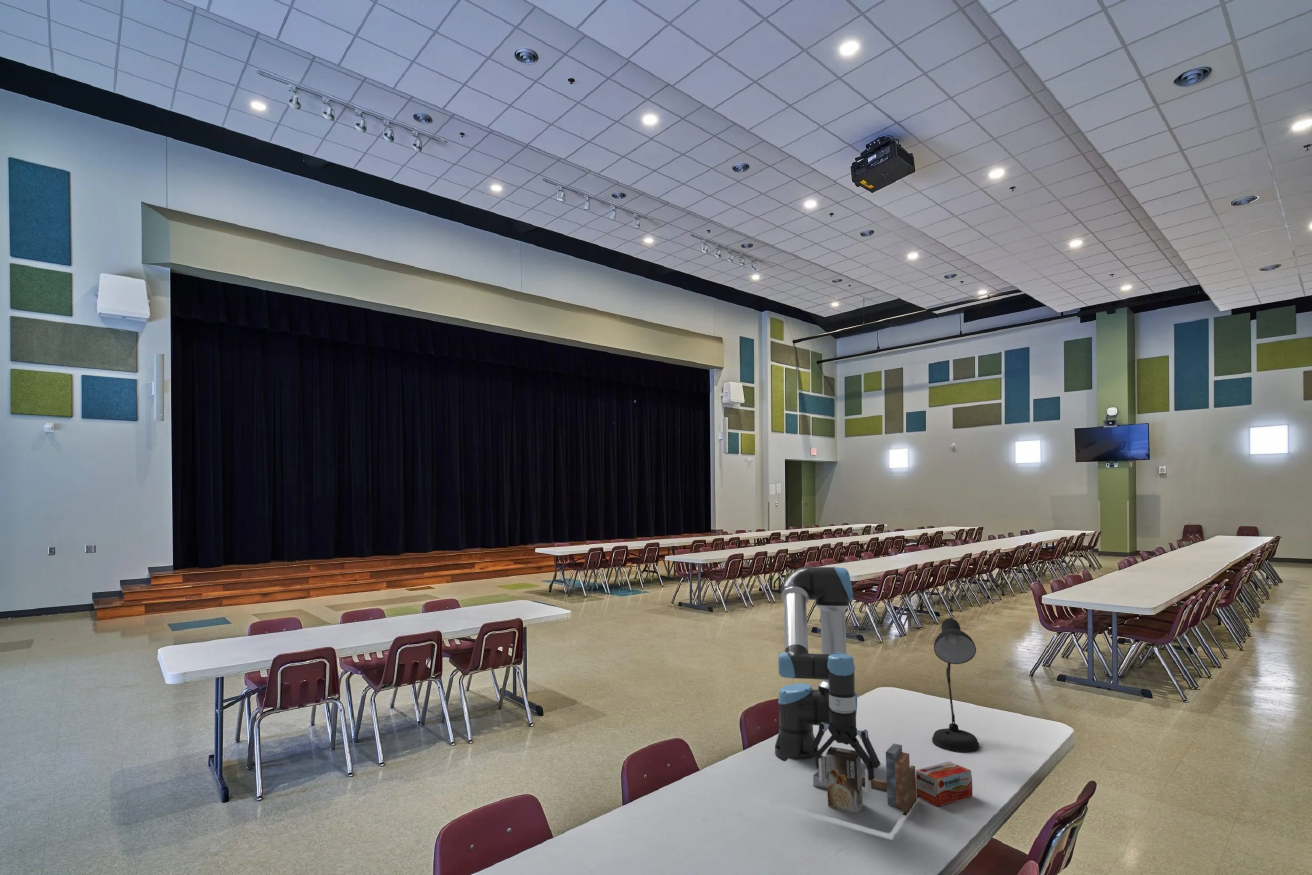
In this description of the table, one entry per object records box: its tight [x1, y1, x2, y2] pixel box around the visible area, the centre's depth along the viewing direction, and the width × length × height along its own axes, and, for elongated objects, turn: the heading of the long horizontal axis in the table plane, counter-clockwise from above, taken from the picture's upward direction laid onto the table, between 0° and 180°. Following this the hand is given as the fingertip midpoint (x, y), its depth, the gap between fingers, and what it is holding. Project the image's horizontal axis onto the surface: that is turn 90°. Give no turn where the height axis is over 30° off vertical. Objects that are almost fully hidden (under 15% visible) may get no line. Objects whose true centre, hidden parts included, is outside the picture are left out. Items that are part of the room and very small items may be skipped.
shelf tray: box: [861, 743, 917, 817], centre depth 201 cm, size 29×11×16 cm, turn 55°
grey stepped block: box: [812, 766, 827, 790], centre depth 206 cm, size 8×8×8 cm
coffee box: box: [825, 746, 864, 814], centre depth 192 cm, size 9×6×16 cm
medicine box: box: [915, 761, 973, 808], centre depth 200 cm, size 15×8×8 cm, turn 116°
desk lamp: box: [931, 617, 980, 753], centre depth 242 cm, size 24×26×45 cm
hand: (844, 785), depth 192 cm, fingers open, 13 cm apart
